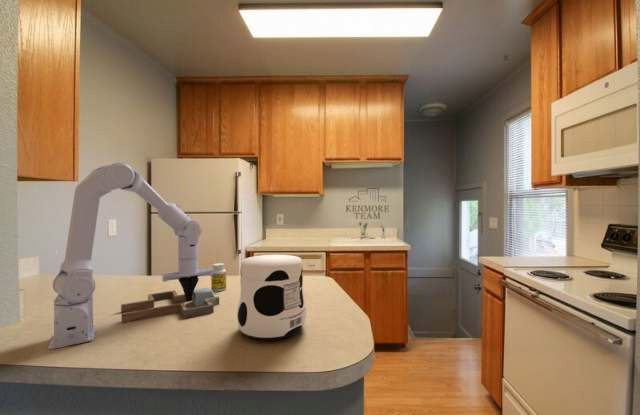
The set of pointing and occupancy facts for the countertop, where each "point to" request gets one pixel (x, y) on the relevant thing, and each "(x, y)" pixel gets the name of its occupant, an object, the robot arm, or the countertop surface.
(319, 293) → the countertop surface
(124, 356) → the countertop surface
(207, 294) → the block
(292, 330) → the milk container
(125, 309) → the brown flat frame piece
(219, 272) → the supplement bottle
